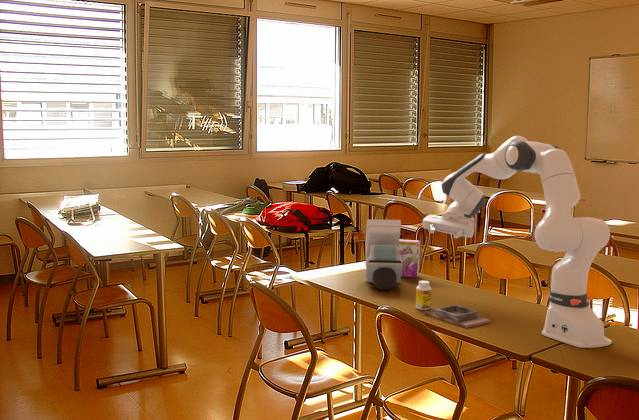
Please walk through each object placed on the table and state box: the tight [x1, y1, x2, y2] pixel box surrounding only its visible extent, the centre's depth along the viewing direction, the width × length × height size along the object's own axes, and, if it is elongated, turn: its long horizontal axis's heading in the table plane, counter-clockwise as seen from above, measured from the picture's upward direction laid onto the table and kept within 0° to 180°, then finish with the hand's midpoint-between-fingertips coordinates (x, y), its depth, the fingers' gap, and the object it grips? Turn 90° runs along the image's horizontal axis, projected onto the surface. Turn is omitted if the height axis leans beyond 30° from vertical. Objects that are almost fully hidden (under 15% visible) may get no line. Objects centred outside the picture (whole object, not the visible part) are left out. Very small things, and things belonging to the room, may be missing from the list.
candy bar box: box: [399, 238, 421, 279], centre depth 306 cm, size 11×5×16 cm, turn 74°
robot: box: [365, 218, 403, 291], centre depth 289 cm, size 14×22×30 cm
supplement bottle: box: [415, 280, 432, 311], centre depth 254 cm, size 6×6×10 cm
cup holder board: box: [423, 304, 491, 329], centre depth 242 cm, size 20×12×3 cm, turn 36°
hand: (443, 234), depth 261 cm, fingers open, 8 cm apart
